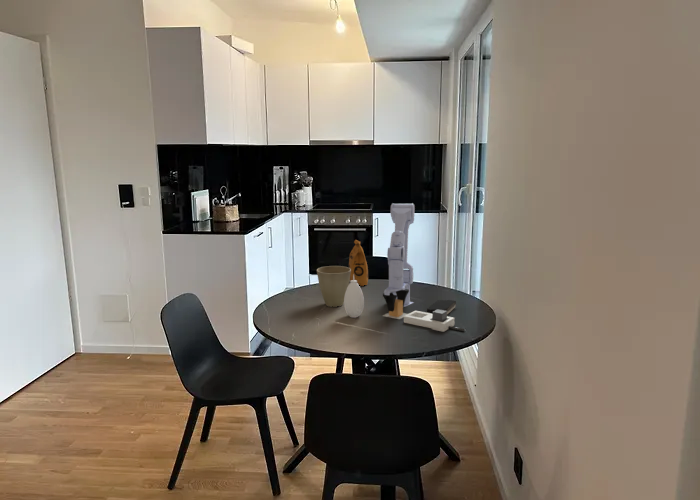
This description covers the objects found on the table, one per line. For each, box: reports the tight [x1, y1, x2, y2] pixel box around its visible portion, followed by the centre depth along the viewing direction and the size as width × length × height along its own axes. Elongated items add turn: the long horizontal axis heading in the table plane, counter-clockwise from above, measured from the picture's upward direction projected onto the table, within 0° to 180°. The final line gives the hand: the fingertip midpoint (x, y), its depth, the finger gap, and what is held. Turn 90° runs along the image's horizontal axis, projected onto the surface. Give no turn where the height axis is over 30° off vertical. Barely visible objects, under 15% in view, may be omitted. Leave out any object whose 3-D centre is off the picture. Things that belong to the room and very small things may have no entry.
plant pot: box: [316, 265, 351, 308], centre depth 225 cm, size 15×15×16 cm
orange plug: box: [388, 299, 404, 317], centre depth 208 cm, size 4×4×6 cm
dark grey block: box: [432, 309, 448, 322], centre depth 194 cm, size 4×4×6 cm
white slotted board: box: [403, 310, 466, 332], centre depth 196 cm, size 23×9×3 cm, turn 53°
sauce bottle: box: [343, 274, 365, 318], centre depth 206 cm, size 8×8×18 cm
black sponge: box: [426, 299, 457, 315], centre depth 214 cm, size 16×8×4 cm, turn 152°
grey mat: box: [382, 312, 408, 320], centre depth 209 cm, size 8×8×1 cm
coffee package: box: [348, 239, 369, 287], centre depth 262 cm, size 10×12×22 cm
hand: (396, 308), depth 208 cm, fingers open, 7 cm apart
